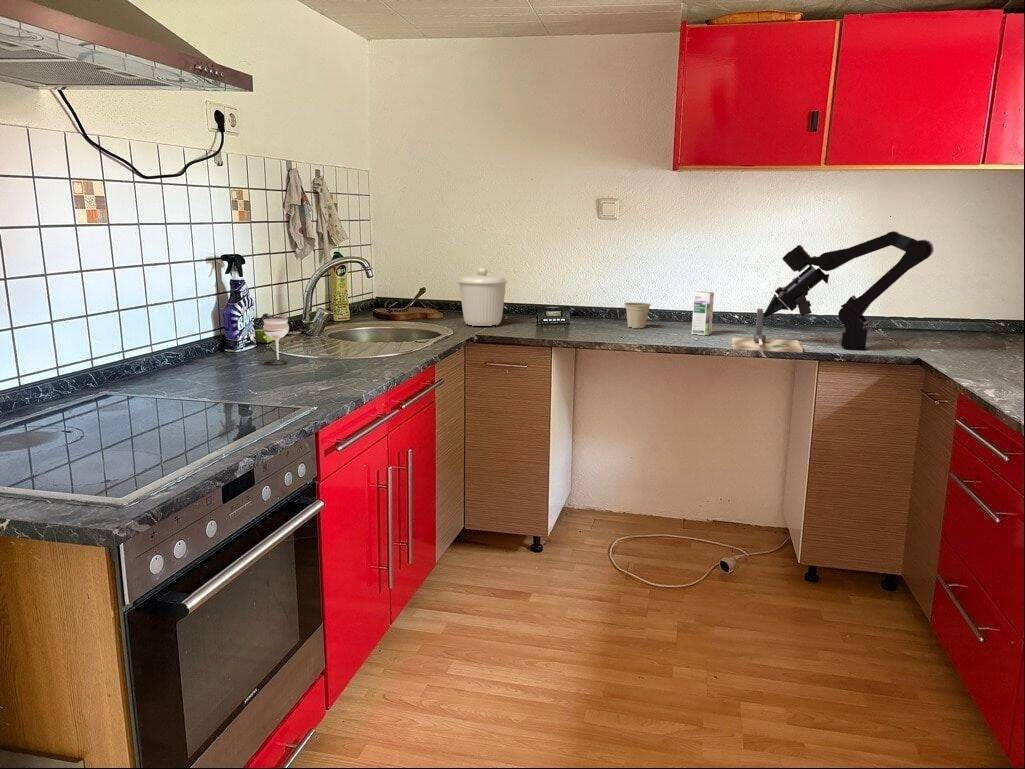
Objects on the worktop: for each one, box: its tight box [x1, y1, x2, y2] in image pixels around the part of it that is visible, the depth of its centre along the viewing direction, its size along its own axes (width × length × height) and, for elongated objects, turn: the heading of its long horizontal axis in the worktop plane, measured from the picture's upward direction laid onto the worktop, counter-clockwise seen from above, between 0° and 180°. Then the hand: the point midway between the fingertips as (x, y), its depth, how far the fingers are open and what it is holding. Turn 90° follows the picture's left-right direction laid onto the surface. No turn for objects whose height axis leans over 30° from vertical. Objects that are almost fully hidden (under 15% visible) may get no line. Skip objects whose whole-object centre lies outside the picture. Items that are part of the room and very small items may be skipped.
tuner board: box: [731, 337, 804, 353], centre depth 240 cm, size 20×17×1 cm
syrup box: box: [691, 291, 715, 336], centre depth 262 cm, size 6×6×14 cm
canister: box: [457, 267, 508, 327], centre depth 280 cm, size 18×18×21 cm
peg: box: [753, 308, 767, 345], centre depth 241 cm, size 4×20×9 cm, turn 165°
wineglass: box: [262, 317, 290, 361], centre depth 209 cm, size 7×7×12 cm
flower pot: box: [624, 302, 652, 329], centre depth 277 cm, size 9×9×9 cm
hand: (764, 316), depth 246 cm, fingers closed
